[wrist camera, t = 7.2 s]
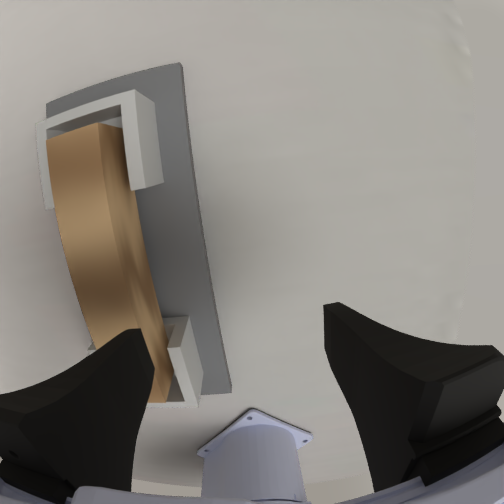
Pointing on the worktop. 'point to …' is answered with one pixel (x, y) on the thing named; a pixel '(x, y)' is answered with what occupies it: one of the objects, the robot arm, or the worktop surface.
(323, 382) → the worktop surface
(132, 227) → the rail
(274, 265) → the worktop surface
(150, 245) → the bracket board
